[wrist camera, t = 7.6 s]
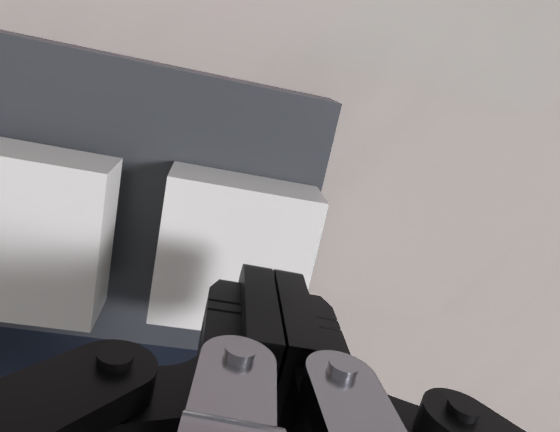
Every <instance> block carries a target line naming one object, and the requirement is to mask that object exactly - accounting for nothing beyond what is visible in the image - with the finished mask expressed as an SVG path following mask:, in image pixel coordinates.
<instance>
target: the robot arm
mask: <svg viewBox="0 0 560 432" xmlns="http://www.w3.org/2000/svg"><path fill="white" fill-rule="evenodd" d="M0 432H526V431H524V430H522V429H521V428H519V427H518V426H516V425H515V424H513V423H512V422H510V421H508V420H507V419H505V418H504V417H502V416H501V415H499V414H498V413H496V412H494V411H493V410H491V409H490V408H488V407H487V406H485V405H484V404H482V403H480V402H479V401H477V400H475V399H474V398H472V397H470V396H468V395H466V394H463V393H461V392H458V391H455V390H451V389H446V388H433V389H430V390H428V391H426V392H425V394H424V395H423V398H422V401H421V403H420V406H418V405H415V404H412V403H409V402H406V401H403V400H401V399H398V398H395V397H392V396H390V395H387V393H386V392H385V390H384V388H383V386H382V384H381V382H380V381H379V379H378V377H377V375H376V374H375V372H374V371H373V370H372V369H371V367H369V366H368V365H367V364H366V363H364V362H363V361H361V360H360V359H358V358H356V357H354V356H352V355H350V352H349V349H348V347H347V344H346V342H345V339H344V336H343V334H342V331H340V326H339V323H338V321H337V318H336V316H335V313H334V311H333V308H332V307H331V306H330V305H329V304H328V303H327V302H326V301H325V300H324V299H323V298H322V297H321V296H316V295H311V294H309V292H308V289H307V285H306V282H305V279H304V276H303V274H300V273H295V272H289V271H283V270H277V269H274V270H273V269H271V268H265V267H260V266H254V265H248V264H243V266H242V269H241V273H240V277H239V281H238V282H233V281H227V280H221V279H219V280H218V281H217V282H215V283H214V284H213V285H212V286H211V287H210V288H209V293H208V298H207V303H206V308H205V313H204V318H203V323H202V328H201V333H200V338H199V343H198V350H197V356H195V357H194V358H192V359H190V360H188V361H186V362H183V363H179V364H175V365H165V366H158V362H157V359H156V357H155V355H154V354H153V353H152V352H151V351H150V350H148V349H147V348H145V347H144V346H142V345H139V344H137V343H134V342H131V341H126V340H118V339H106V340H99V341H94V342H91V343H88V344H85V345H82V346H80V347H77V348H75V349H72V350H70V351H67V352H64V353H62V354H59V355H57V356H54V357H52V358H49V359H47V360H44V361H42V362H39V363H36V364H34V365H31V366H29V367H26V368H24V369H21V370H19V371H16V372H13V373H11V374H8V375H6V376H3V377H1V378H0Z"/></svg>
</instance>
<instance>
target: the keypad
mask: <svg viewBox="0 0 560 432" xmlns="http://www.w3.org/2000/svg"><path fill="white" fill-rule="evenodd" d="M341 105H342V104H341V103H339V102H336V101H334V100H332V99H330V98H326V97H321V96H316V95H311V94H306V93H302V92H297V91H292V90H287V89H282V88H278V87H273V86H268V85H263V84H258V83H254V82H249V81H244V80H239V79H234V78H230V77H225V76H220V75H215V74H210V73H206V72H201V71H196V70H191V69H186V68H182V67H177V66H172V65H167V64H163V63H158V62H153V61H148V60H143V59H139V58H134V57H129V56H124V55H119V54H115V53H110V52H105V51H100V50H95V49H91V48H86V47H81V46H76V45H71V44H67V43H62V42H57V41H52V40H47V39H43V38H38V37H33V36H28V35H24V34H19V33H14V32H9V31H4V30H0V137H6V138H11V139H17V140H23V141H28V142H34V143H40V144H45V145H51V146H57V147H62V148H68V149H74V150H79V151H85V152H90V153H96V154H102V155H107V156H113V157H119V158H123V161H122V170H121V179H120V187H119V196H118V205H117V213H116V222H115V230H114V239H113V248H112V256H111V265H110V274H109V282H108V291H107V299H106V301H105V303H104V305H103V307H102V310H101V312H100V314H99V316H98V318H97V320H96V322H95V324H94V326H93V328H92V330H91V332H90V333H87V332H79V331H71V330H62V329H54V328H46V327H38V326H29V325H21V324H13V323H5V322H0V378H1V377H3V376H6V375H8V374H11V373H13V372H16V371H19V370H21V369H24V368H26V367H29V366H31V365H34V364H36V363H39V362H42V361H44V360H47V359H49V358H52V357H54V356H57V355H59V354H62V353H64V352H67V351H70V350H72V349H75V348H77V347H80V346H82V345H85V344H88V343H91V342H94V341H99V340H106V339H118V340H126V341H131V342H134V343H137V344H139V345H142V346H144V347H145V348H147V349H148V350H150V351H151V352H152V353H153V354H154V355H155V357H156V359H157V362H158V366H165V365H175V364H179V363H183V362H186V361H188V360H190V359H192V358H194V357H195V356H197V350H198V343H199V338H200V333H201V331H200V330H192V329H184V328H176V327H168V326H161V325H153V324H146V321H147V314H148V307H149V300H150V293H151V286H152V279H153V272H154V265H155V258H156V251H157V244H158V237H159V230H160V223H161V216H162V209H163V202H164V196H165V189H166V182H167V176H168V174H169V172H170V169H171V167H172V165H173V163H174V161H178V162H183V163H189V164H194V165H200V166H206V167H211V168H217V169H222V170H228V171H234V172H239V173H245V174H250V175H256V176H261V177H267V178H273V179H278V180H284V181H289V182H295V183H301V184H306V185H312V186H317V187H318V189H319V190H320V192H321V189H322V185H323V181H324V177H325V172H326V168H327V164H328V160H329V156H330V152H331V147H332V143H333V139H334V135H335V131H336V126H337V122H338V118H339V114H340V110H341Z"/></svg>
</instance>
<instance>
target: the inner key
mask: <svg viewBox="0 0 560 432" xmlns="http://www.w3.org/2000/svg"><path fill="white" fill-rule="evenodd" d="M328 206H329V204H328V202H327V201H326V199H325V198H324V196H323V195H322V193H321V192H320V190H319V189H318V187H317V186H312V185H306V184H301V183H295V182H289V181H284V180H278V179H273V178H267V177H261V176H256V175H250V174H245V173H239V172H234V171H228V170H222V169H217V168H211V167H206V166H200V165H194V164H189V163H183V162H178V161H174V163H173V165H172V167H171V169H170V172H169V174H168V176H167V182H166V189H165V196H164V202H163V209H162V216H161V223H160V230H159V237H158V244H157V251H156V258H155V265H154V272H153V279H152V286H151V293H150V300H149V307H148V314H147V321H146V324H153V325H161V326H168V327H176V328H184V329H192V330H200V331H201V328H202V323H203V318H204V313H205V308H206V303H207V298H208V293H209V288H210V287H211V286H212V285H213V284H214V283H215V282H217V281H218V280H219V279H221V280H227V281H233V282H238V281H239V277H240V273H241V269H242V266H243V264H248V265H254V266H260V267H265V268H271V269H273V270H274V269H277V270H283V271H289V272H295V273H300V274H303V276H304V279H305V282H306V285H307V289H308V288H309V284H310V280H311V276H312V272H313V268H314V263H315V259H316V255H317V251H318V247H319V243H320V239H321V235H322V231H323V227H324V223H325V219H326V215H327V210H328Z"/></svg>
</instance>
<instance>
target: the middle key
mask: <svg viewBox="0 0 560 432" xmlns="http://www.w3.org/2000/svg"><path fill="white" fill-rule="evenodd" d="M122 161H123V158H119V157H113V156H107V155H102V154H96V153H90V152H85V151H79V150H74V149H68V148H62V147H57V146H51V145H45V144H40V143H34V142H28V141H23V140H17V139H11V138H6V137H0V322H5V323H13V324H21V325H29V326H38V327H46V328H54V329H62V330H71V331H79V332H87V333H90V332H91V330H92V328H93V326H94V324H95V322H96V320H97V318H98V316H99V314H100V312H101V310H102V307H103V305H104V303H105V301H106V299H107V291H108V282H109V274H110V265H111V256H112V248H113V239H114V230H115V222H116V213H117V205H118V196H119V187H120V179H121V170H122Z"/></svg>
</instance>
